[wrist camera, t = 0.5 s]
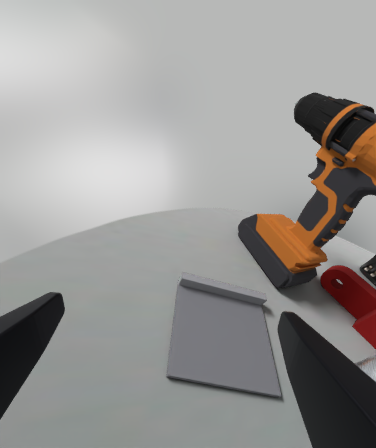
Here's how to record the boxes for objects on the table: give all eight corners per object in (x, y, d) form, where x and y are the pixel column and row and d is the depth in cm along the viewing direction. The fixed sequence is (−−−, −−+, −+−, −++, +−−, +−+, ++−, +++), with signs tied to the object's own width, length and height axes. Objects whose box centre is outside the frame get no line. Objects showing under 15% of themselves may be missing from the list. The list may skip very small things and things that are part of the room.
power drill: (218, 210, 45) (289, 74, 30) (244, 210, 49) (320, 88, 34) (284, 303, 32) (474, 143, 16) (313, 294, 35) (493, 155, 20)
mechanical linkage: (413, 352, 33) (448, 340, 30) (406, 381, 29) (445, 369, 26) (324, 272, 41) (344, 256, 38) (308, 284, 37) (329, 267, 34)
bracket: (277, 397, 22) (289, 392, 21) (166, 376, 20) (171, 370, 19) (257, 300, 31) (265, 293, 29) (178, 280, 29) (182, 271, 28)
